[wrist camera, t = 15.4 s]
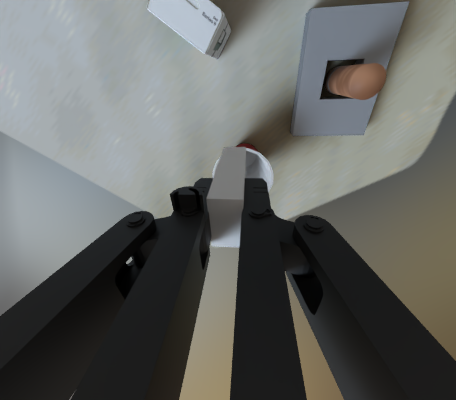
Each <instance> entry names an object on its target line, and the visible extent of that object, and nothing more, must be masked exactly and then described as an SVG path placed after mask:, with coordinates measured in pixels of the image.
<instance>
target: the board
mask: <svg viewBox="0 0 456 400" xmlns="http://www.w3.org/2000/svg"><path fill="white" fill-rule="evenodd" d="M409 2H410V1H408V2H394V3H379V4H365V5H351V6H337V7H323V8H311V9H310V10H309V11H308V12H307V13H306V19H305V27H304V34H303V41H302V48H301V56H300V63H299V70H298V78H297V85H296V92H295V100H294V107H293V114H292V122H291V129H290V133H291V134H292V135H293V136H328V135H364V133H365V130H366V127H367V124H368V121H369V118H370V115H371V113H372V110H373V107H374V104H375V101H376V98H377V95H378V93H377V94H376V95H375V96H373V97H372V98H369V99H366V100H359V99H354V98H350V97H325V98H320V96H321V91H322V86H323V81H324V76H325V71H326V66H327V61H337V60H356V62H355V65H359V64H370V63H378V64H381V65H382V66H383V67H384V68H385V70H386V69H387V66H388V63H389V60H390V57H391V54H392V51H393V48H394V45H395V42H396V39H397V37H398V34H399V31H400V28H401V25H402V22H403V19H404V16H405V13H406V10H407V7H408V4H409Z"/></svg>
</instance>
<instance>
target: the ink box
mask: <svg viewBox="0 0 456 400" xmlns="http://www.w3.org/2000/svg"><path fill="white" fill-rule="evenodd" d="M147 9H148V11H150V12H151V13H152V14H154V15H155V16H156V17H157V18H159V19H160V20H161V21H162V22H164V23H165V24H166V25H167V26H169V27H170V28H171V29H173V30H174V31H175V32H176V33H178V34H179V35H180V36H182V37H183V38H184V39H185V40H187V41H188V42H189V43H190V44H192V45H193V46H194V47H196V48H197V49H198V50H200V51H201V52H202V53H204V54H206V55H209V56H211V57H213V58H216V59H218V58H219V56H220V54H221V52H222V50H223V48H224V46H225V44H226V41H227V39H228V37H229V35H230V33H231V28H230V26H229V24H228V22H227V19H226V17H225V14H224V12H223V11H222V10H221V9H220V8H219V7H217V6H216V5H215V4H214V3H213V2H211V1H210V0H148V4H147Z"/></svg>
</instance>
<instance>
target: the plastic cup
mask: <svg viewBox="0 0 456 400" xmlns="http://www.w3.org/2000/svg"><path fill="white" fill-rule="evenodd" d="M236 147H246V174H245V178H263V179H264V180H265V181H266V182H267V187H268V192H269V190H270V188H271V187H272V185H273V170H272V168H271V165H270V163H269V161H268V160H267V159H266V158H265V157H264V156H263V155H262V154H261V153H259V152H258V151H257V149H256V148H255V147H254V146H253V145H250V144H247V143H245V144H240V145H238V146H236ZM220 158H221V157H220ZM220 158H219V159H218V160H217V161H216V163H215V166H214V169H213V172H212V173H213V178H214V175H215V172H216V169H217V166H218V163H219V161H220Z"/></svg>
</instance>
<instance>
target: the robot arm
mask: <svg viewBox="0 0 456 400" xmlns="http://www.w3.org/2000/svg"><path fill="white" fill-rule="evenodd" d="M245 174H246V147H224V149H223V152H222V155H221V158H220V161H219V163H218V166H217V169H216V172H215V175H214V178H201V179H199V180H198V181H197V182H195V184H194V186H193V187H191V186H189V187H182V188H178V189H176V190H174V191H173V192H172V193H171V194H170V197H171V201H172V206H173V210H174V211H173V213H172V215H171V216H169V217H165V218H159V219H154V217H153V215H152V214H151V213H149V212H147V211H140V212H134V213H132V214H129V215H127V216H126V217H124V218H123V219H121V220H120V221H119V222H118V223H116V224H115V225H114V226H113V227H111V228H110V229H109V230H108V231H106V232H105V233H104V234H103V235H101V236H100V237H99V238H98V239H96V240H95V241H94V242H93V243H91V244H90V245H89V246H88V247H86V248H85V249H84V250H82V251H81V252H80V253H79V254H77V255H76V256H75V257H74V258H73V259H71V260H70V261H69V262H68V263H66V264H65V265H64V266H63V267H61V268H60V269H59V270H57V271H56V272H55V273H54V274H52V275H51V276H50V277H49V278H48V279H46V280H45V281H44V282H42V283H41V284H40V285H39V286H37V287H36V288H35V289H34V290H32V291H31V292H30V293H29V294H27V295H26V296H25V297H24V298H22V299H21V300H20V301H19V302H17V303H16V304H15V305H14V306H12V307H11V308H10V309H9V310H7V311H6V312H5V313H4V314H2V315H1V316H0V400H69V399H70V397H71V396H72V394H73V393H74V392H75V393H74V395H73V396H72V399H71V400H179V397H180V392H181V387H182V383H183V379H184V374H185V369H186V365H187V360H188V355H189V350H190V346H191V341H192V337H193V332H194V327H195V323H196V317H197V313H198V308H199V303H200V299H201V295H202V290H203V285H204V281H205V276H206V271H207V267H208V262H209V257H210V248H209V245H210V241H211V244H212V246H221V247H239V262H238V278H237V294H236V311H235V327H234V343H233V358H232V359H233V360H232V374H231V375H232V376H231V391H230V400H307V398H306V393H305V386H304V381H303V375H302V369H301V363H300V358H299V352H298V346H297V341H296V334H295V329H294V323H293V317H292V311H291V306H290V300H289V294H288V288H287V282H286V277H285V271H286V274H287V276H288V279H289V281H290V283H291V285H292V287H293V290H294V292H295V294H296V296H297V298H298V300H299V303H300V305H301V307H302V309H303V311H304V313H305V316H306V318H307V320H308V322H309V324H310V326H311V329H312V331H313V333H314V335H315V337H316V339H317V341H318V344H319V346H320V348H321V350H322V352H323V355H324V357H325V359H326V361H327V363H328V365H329V368H330V370H331V372H332V374H333V376H334V378H335V381H336V383H337V385H338V387H339V389H340V391H341V394H342V396H343V398H344V400H456V361H455V360H454V359H453V358H452V357H451V355H450V354H449V353H448V352H447V351H446V350H445V349H444V348H443V347H442V346H441V345H440V343H438V341H437V340H436V339H435V338H434V337H433V336H432V335H431V334H430V333H429V331H428V330H426V328H425V327H424V326H423V325H422V324H421V323H420V321H419V320H418V319H417V318H416V317H415V316H414V315H413V314H412V313H411V312H410V311H409V309H408V308H407V307H406V306H405V305H404V304H403V303H402V302H401V301H400V300H399V299H398V297H397V296H396V295H395V294H394V293H393V292H392V291H391V290H390V289H389V288H388V287H387V285H386V284H385V283H384V282H383V281H382V280H381V279H380V278H379V277H378V275H377V274H376V273H375V272H374V271H373V270H372V269H371V268H370V267H369V266H368V265H367V263H366V262H365V261H364V260H363V259H362V258H361V257H360V256H359V255H358V254H357V253H356V251H355V250H354V249H353V248H352V247H351V246H350V245H349V244H348V243H347V242H346V241H345V239H344V238H343V237H342V236H341V235H340V234H339V233H338V232H337V231H336V229H335V228H334V227H333V226H332V225H331V224H330V223H329V222H327V221H326V220H324V219H322V218H320V217H317V216H313V215H304V216H300V217H299V218H297V219H296V220H295V222H291V221H287V220H284V219H281V218H279V217H277V216H276V215H275V213H274V211H273V210H272V209H271V206H270V199H269V193H268V187H267V182H266V181H265V180H264V179H263V178H245ZM130 257H132V259H133V260H132V261H131V262H130V263H129V264H126V261H127V260H128V259H129V258H130ZM75 390H76V391H75Z"/></svg>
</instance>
